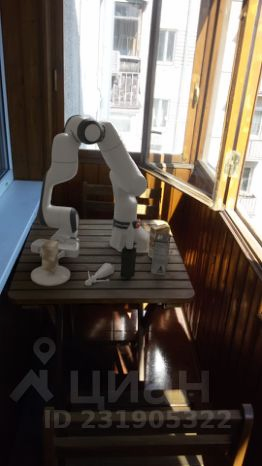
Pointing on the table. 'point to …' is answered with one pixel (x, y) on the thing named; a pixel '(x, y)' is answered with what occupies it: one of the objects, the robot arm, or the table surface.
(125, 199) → the robot arm
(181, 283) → the table surface
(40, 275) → the plate
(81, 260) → the table surface
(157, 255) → the coffee box
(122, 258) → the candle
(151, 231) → the candy box
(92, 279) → the woman figurine
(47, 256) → the maple block
